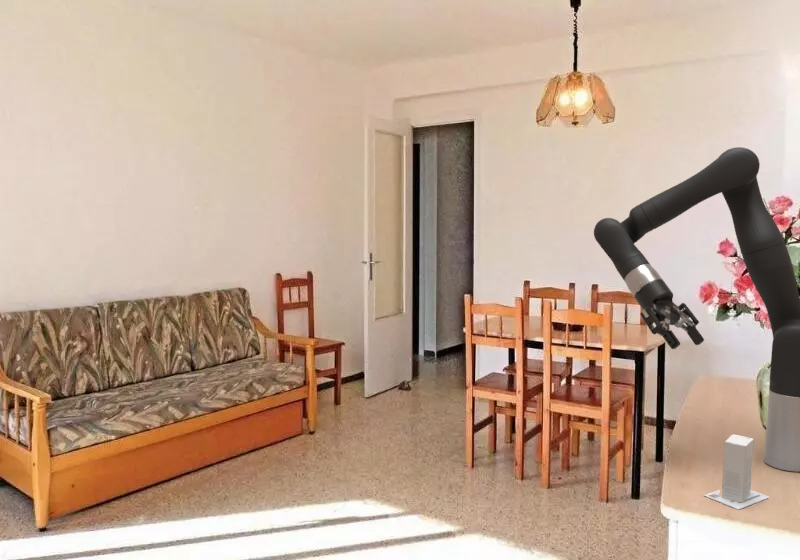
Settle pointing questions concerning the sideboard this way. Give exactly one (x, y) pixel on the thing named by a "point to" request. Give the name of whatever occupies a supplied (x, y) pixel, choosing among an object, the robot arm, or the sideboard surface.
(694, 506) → the sideboard surface
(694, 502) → the sideboard surface
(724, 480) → the skincare box
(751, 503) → the letter
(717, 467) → the sideboard surface
